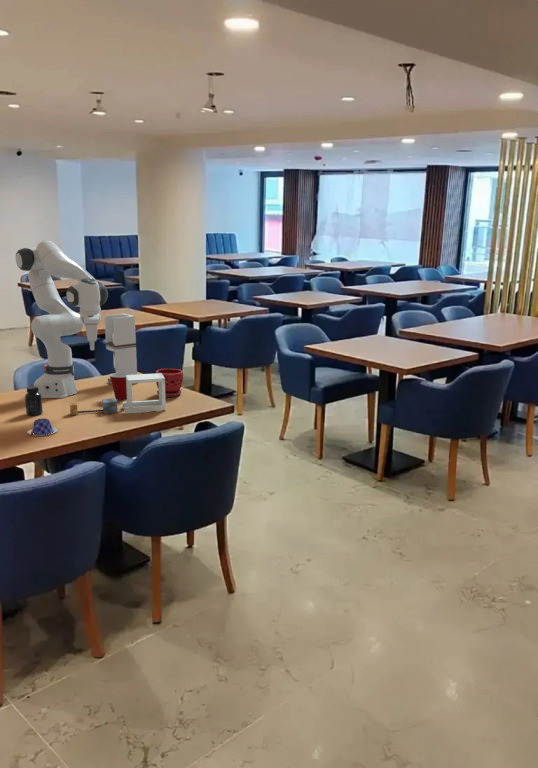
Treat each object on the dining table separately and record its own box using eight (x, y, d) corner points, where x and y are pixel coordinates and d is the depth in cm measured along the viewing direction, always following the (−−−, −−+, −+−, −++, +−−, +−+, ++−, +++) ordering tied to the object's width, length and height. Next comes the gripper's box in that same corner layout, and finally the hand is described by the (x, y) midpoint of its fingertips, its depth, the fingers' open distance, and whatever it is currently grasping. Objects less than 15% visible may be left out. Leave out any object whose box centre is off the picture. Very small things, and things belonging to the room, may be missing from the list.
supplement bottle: (46, 412, 304) (44, 386, 301) (36, 416, 298) (34, 390, 295) (33, 411, 307) (30, 384, 304) (22, 415, 300) (20, 388, 297)
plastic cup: (136, 395, 333) (135, 371, 330) (129, 401, 322) (128, 376, 319) (114, 395, 334) (113, 370, 331) (107, 401, 323) (105, 376, 320)
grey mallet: (70, 416, 299) (69, 404, 298) (70, 412, 305) (69, 401, 303) (117, 412, 305) (117, 401, 303) (116, 408, 310) (116, 398, 309)
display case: (127, 379, 364) (125, 313, 356) (137, 383, 356) (134, 316, 348) (107, 382, 357) (104, 315, 349) (117, 386, 349) (113, 318, 341)
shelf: (124, 413, 304) (123, 380, 300) (122, 407, 313) (121, 375, 309) (165, 410, 309) (164, 378, 305) (162, 404, 318) (161, 373, 314)
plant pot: (181, 398, 329) (181, 373, 326) (154, 398, 329) (153, 373, 326) (184, 391, 342) (184, 367, 339) (158, 391, 342) (157, 367, 339)
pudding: (20, 435, 275) (19, 423, 273) (38, 426, 286) (37, 414, 284) (46, 438, 271) (45, 426, 270) (64, 429, 282) (63, 417, 281)
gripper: (82, 312, 309) (84, 343, 313) (83, 320, 290) (85, 352, 294) (97, 312, 311) (98, 342, 314) (98, 320, 292) (100, 352, 295)
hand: (92, 347), depth 304 cm, fingers open, 8 cm apart
